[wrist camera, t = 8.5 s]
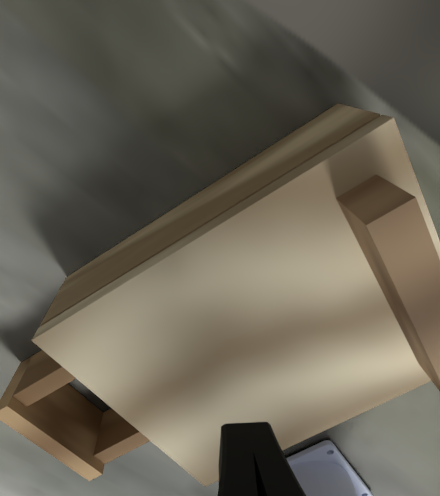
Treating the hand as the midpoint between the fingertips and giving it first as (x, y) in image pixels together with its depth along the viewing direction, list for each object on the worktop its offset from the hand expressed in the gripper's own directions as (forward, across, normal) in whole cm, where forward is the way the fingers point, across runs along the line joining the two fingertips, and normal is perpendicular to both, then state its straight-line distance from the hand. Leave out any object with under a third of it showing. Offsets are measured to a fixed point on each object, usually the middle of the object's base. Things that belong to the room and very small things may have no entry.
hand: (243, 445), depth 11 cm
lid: (+6, -2, +1) cm, 7 cm away
